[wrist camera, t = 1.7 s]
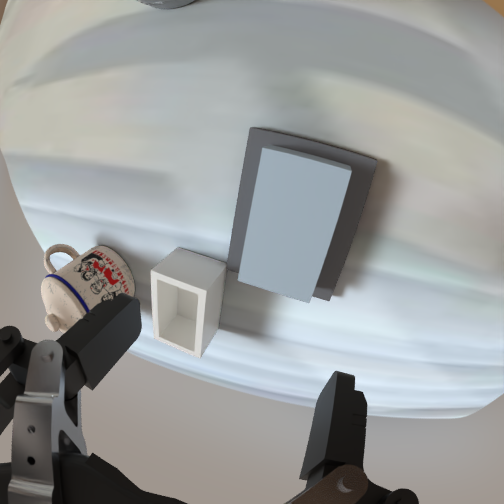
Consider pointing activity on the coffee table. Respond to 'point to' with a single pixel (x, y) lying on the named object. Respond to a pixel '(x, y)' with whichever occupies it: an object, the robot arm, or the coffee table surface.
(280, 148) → the lid
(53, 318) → the teacup with lid
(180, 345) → the white open cubby box
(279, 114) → the coffee table surface
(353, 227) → the mat
